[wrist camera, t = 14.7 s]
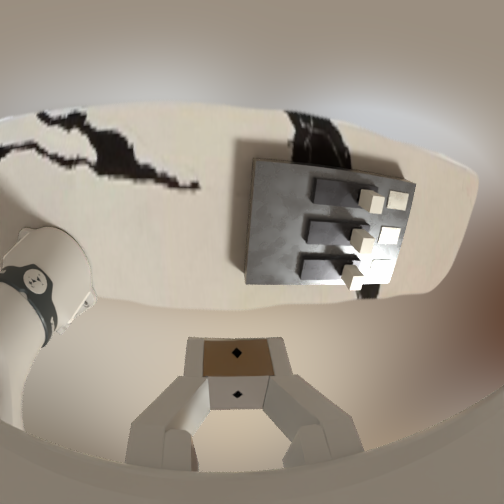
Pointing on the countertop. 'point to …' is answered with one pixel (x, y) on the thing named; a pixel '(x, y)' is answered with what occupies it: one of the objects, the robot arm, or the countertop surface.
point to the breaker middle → (362, 241)
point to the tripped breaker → (371, 201)
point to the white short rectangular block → (352, 277)
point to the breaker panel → (320, 223)
